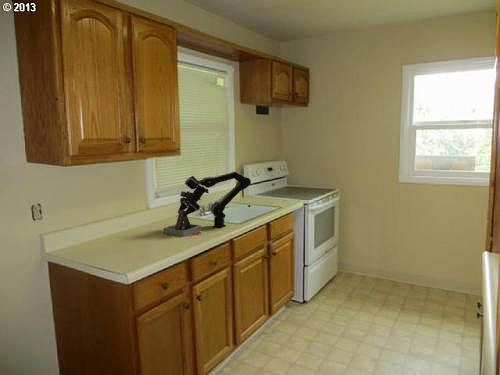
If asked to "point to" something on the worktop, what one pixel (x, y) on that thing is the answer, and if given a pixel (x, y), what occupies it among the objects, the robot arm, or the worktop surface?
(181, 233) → the tray
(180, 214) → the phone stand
